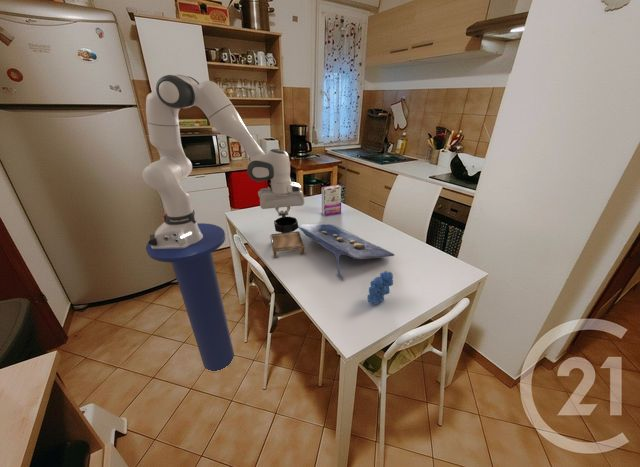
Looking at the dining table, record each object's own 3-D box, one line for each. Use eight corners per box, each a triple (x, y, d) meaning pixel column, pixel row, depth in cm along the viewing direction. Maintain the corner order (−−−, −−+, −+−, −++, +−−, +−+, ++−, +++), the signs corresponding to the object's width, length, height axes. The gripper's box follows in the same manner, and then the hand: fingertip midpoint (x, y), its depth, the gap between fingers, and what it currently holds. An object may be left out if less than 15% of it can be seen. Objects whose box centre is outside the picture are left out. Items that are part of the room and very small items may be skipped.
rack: (273, 258, 114) (272, 248, 112) (270, 243, 126) (270, 234, 124) (305, 254, 117) (304, 245, 115) (299, 239, 129) (299, 230, 127)
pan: (276, 234, 111) (275, 227, 110) (272, 216, 127) (271, 211, 125) (299, 230, 113) (299, 224, 112) (292, 214, 129) (292, 208, 128)
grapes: (380, 288, 97) (383, 261, 91) (394, 298, 92) (400, 270, 87) (358, 301, 91) (360, 273, 85) (372, 313, 86) (376, 284, 80)
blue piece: (287, 243, 131) (291, 221, 128) (328, 241, 148) (332, 221, 145) (349, 284, 98) (356, 256, 95) (393, 275, 115) (400, 251, 113)
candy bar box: (337, 210, 163) (338, 184, 155) (341, 213, 159) (342, 187, 151) (321, 212, 159) (321, 186, 151) (324, 216, 155) (324, 189, 147)
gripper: (258, 191, 113) (261, 220, 119) (304, 187, 117) (305, 215, 124) (257, 186, 118) (260, 214, 124) (302, 183, 122) (302, 210, 129)
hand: (283, 215), depth 124 cm, fingers closed on pan, 2 cm apart
